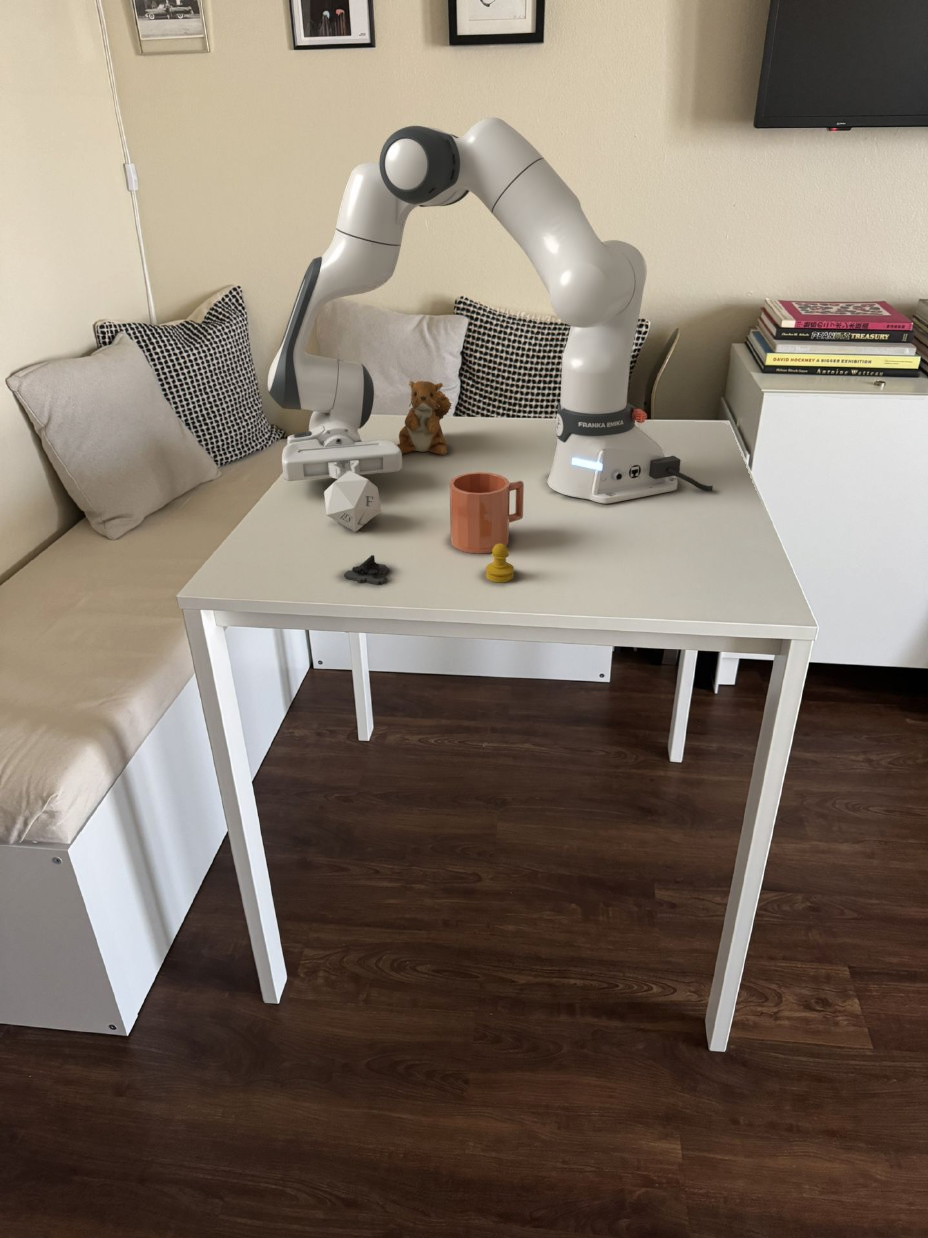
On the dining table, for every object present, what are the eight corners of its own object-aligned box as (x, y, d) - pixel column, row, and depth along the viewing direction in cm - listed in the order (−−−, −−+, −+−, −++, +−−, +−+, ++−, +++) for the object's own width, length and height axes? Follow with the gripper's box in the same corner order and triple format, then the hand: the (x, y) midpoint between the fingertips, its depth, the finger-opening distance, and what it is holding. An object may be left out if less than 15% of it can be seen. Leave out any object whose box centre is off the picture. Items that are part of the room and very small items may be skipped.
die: (324, 541, 140) (356, 498, 134) (305, 498, 143) (335, 454, 138) (368, 544, 146) (400, 503, 140) (348, 503, 149) (379, 461, 143)
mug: (471, 558, 132) (471, 498, 128) (440, 537, 139) (438, 479, 134) (538, 538, 138) (540, 480, 133) (505, 519, 145) (506, 463, 140)
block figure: (395, 554, 128) (378, 571, 124) (396, 569, 130) (379, 586, 125) (358, 548, 130) (340, 564, 126) (359, 562, 132) (341, 579, 127)
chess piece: (494, 567, 130) (494, 536, 127) (518, 573, 128) (519, 541, 126) (480, 578, 127) (480, 546, 124) (505, 584, 125) (505, 552, 123)
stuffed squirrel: (392, 456, 170) (389, 387, 164) (407, 432, 182) (404, 367, 176) (444, 458, 169) (443, 389, 162) (455, 434, 181) (454, 369, 174)
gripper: (397, 460, 162) (410, 488, 150) (282, 471, 158) (286, 500, 146) (395, 426, 159) (408, 452, 147) (278, 436, 155) (282, 463, 143)
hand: (346, 476), depth 147 cm, fingers closed
